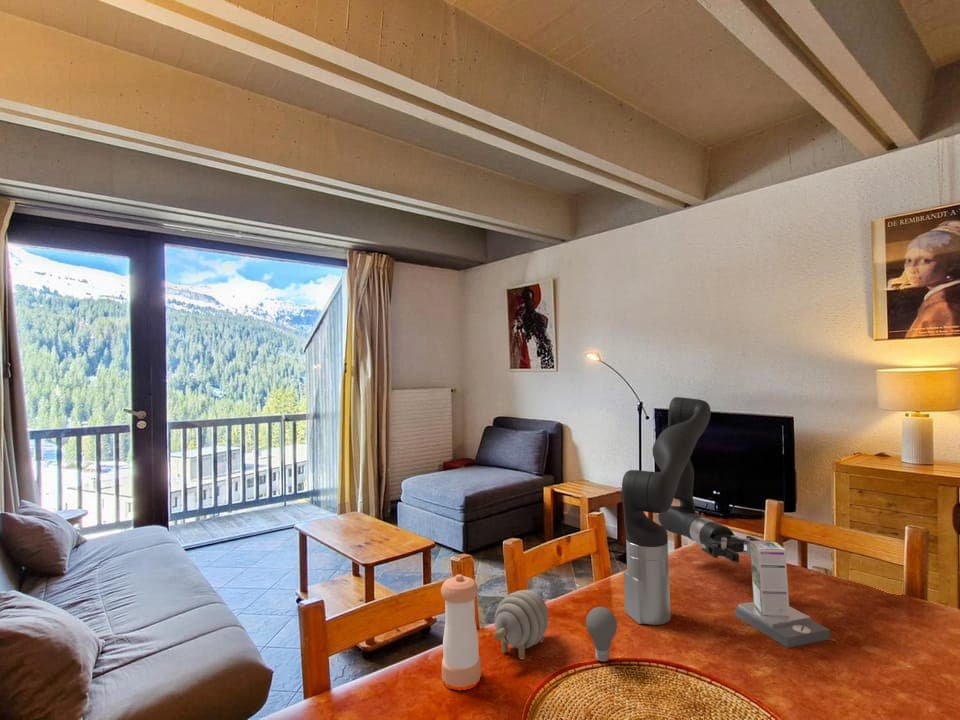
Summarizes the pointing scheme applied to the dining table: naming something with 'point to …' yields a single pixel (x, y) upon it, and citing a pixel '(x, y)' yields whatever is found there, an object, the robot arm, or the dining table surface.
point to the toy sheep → (521, 620)
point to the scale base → (788, 631)
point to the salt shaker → (460, 633)
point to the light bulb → (601, 630)
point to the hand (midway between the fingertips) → (754, 557)
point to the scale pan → (775, 620)
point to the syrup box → (769, 578)
